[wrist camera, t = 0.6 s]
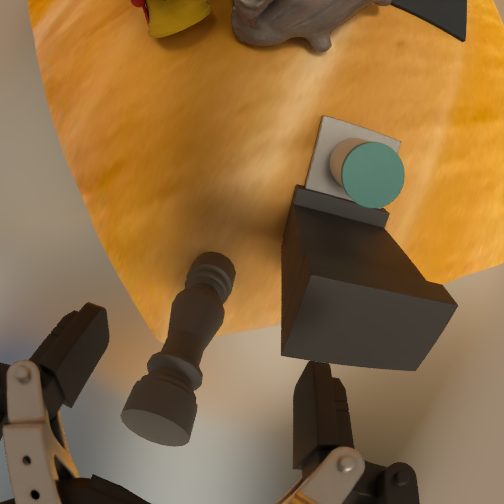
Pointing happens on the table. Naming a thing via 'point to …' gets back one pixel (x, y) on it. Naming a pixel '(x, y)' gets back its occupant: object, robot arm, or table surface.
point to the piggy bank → (293, 20)
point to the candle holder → (181, 356)
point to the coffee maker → (352, 275)
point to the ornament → (172, 15)
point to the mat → (439, 14)
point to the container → (367, 171)
